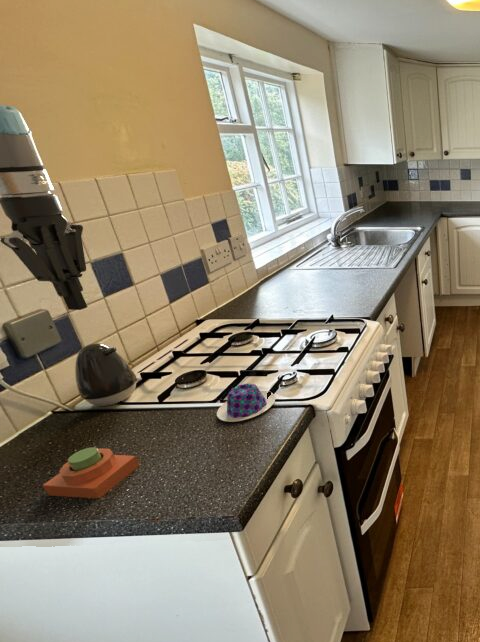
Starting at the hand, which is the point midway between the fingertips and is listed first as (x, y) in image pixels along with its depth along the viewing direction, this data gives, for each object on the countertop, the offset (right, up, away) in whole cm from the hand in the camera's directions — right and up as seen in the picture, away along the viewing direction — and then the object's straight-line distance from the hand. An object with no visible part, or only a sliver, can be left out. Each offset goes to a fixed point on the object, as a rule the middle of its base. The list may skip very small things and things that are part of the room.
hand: (78, 308), depth 87 cm
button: (+14, -29, -11) cm, 34 cm away
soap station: (+14, -32, -10) cm, 36 cm away
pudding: (+29, -24, +11) cm, 39 cm away
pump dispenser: (-6, -23, +14) cm, 27 cm away
